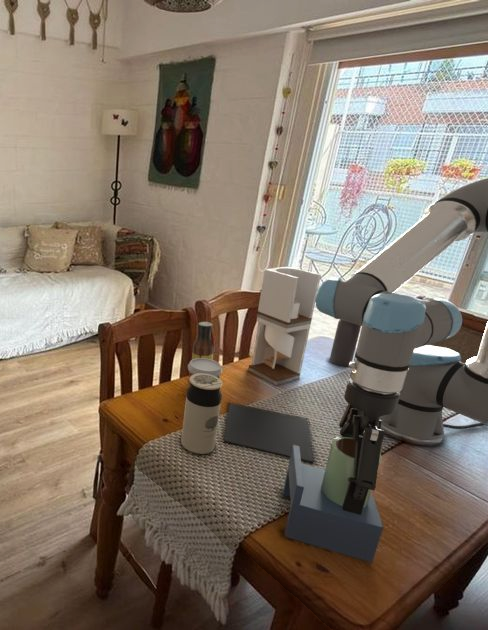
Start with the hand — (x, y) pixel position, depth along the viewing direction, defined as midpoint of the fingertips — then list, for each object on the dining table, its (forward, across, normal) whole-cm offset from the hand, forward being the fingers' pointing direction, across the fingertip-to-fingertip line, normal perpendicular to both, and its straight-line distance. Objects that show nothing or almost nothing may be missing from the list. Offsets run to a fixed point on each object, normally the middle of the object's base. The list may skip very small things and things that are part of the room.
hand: (345, 487), depth 82 cm
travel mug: (+10, -16, -28) cm, 34 cm away
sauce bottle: (+10, -50, -32) cm, 60 cm away
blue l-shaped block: (+9, 0, -2) cm, 10 cm away
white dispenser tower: (+10, -66, -10) cm, 67 cm away
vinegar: (+10, -86, +12) cm, 87 cm away
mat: (+9, -30, -12) cm, 34 cm away
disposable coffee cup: (+10, -38, -30) cm, 49 cm away
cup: (+1, 0, 0) cm, 1 cm away
